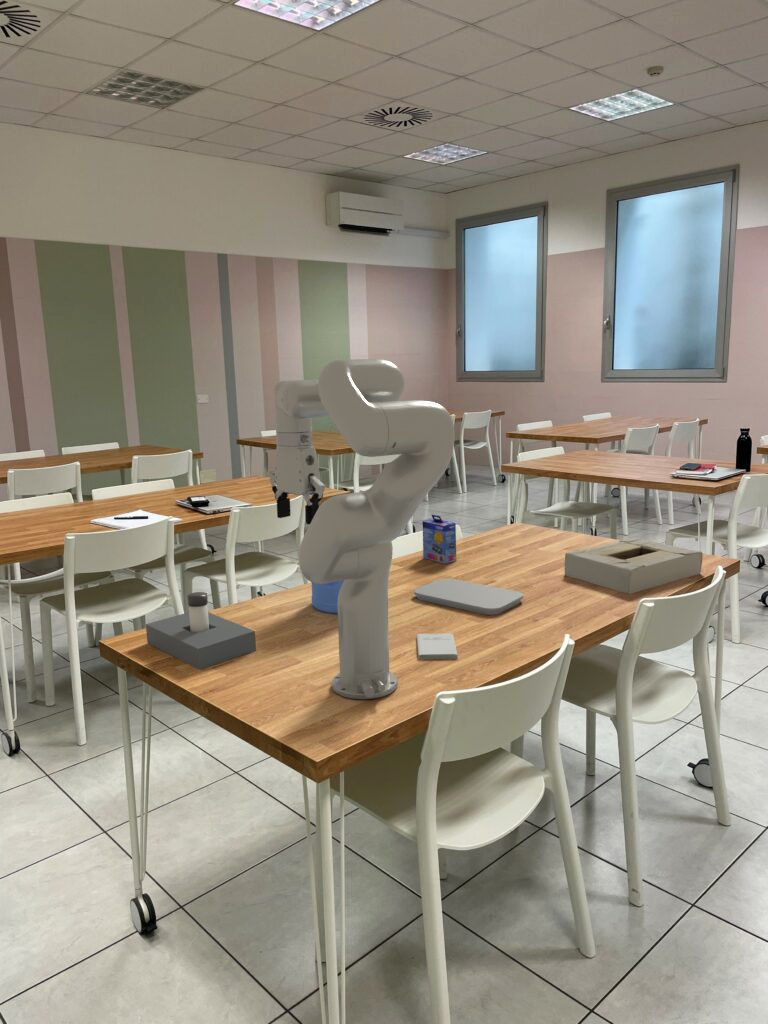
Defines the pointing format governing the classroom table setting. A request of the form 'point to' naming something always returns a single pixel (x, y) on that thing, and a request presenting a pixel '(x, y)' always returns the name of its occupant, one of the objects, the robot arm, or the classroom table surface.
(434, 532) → the ink cartridge box
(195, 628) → the peg
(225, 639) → the socket block
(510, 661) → the classroom table surface
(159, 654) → the classroom table surface
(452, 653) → the external hard drive
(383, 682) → the robot arm
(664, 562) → the box
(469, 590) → the tablet
